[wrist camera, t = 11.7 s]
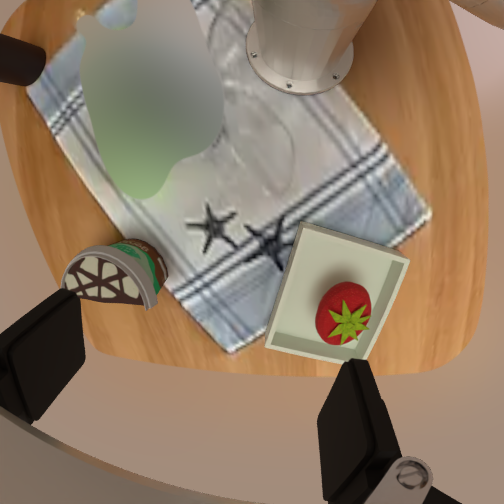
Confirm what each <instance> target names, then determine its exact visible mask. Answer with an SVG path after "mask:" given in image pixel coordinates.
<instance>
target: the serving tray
mask: <svg viewBox="0 0 504 504" xmlns="http://www.w3.org/2000/svg"><path fill="white" fill-rule="evenodd" d="M409 263H410V259H408V258H407V257H406V256H405V255H403V254H402V253H401V252H399V251H398V250H394V249H391V248H388V247H385V246H382V245H379V244H376V243H373V242H369V241H366V240H363V239H360V238H357V237H353V236H350V235H347V234H344V233H340V232H337V231H334V230H330V229H327V228H324V227H320V226H317V225H313V224H310V223H307V222H303V221H300V224H299V228H298V231H297V234H296V238H295V241H294V244H293V247H292V251H291V254H290V257H289V260H288V264H287V267H286V270H285V273H284V276H283V280H282V283H281V286H280V289H279V292H278V295H277V298H276V301H275V304H274V308H273V311H272V314H271V317H270V320H269V323H268V326H267V329H266V334H265V347H266V348H270V349H274V350H278V351H282V352H287V353H291V354H295V355H300V356H304V357H309V358H314V359H318V360H323V361H328V362H333V363H338V364H343V363H344V362H345V361H346V362H348V361H349V360H350V359H351V358H355V359H363V360H366V359H367V358H368V356H369V354H370V352H371V350H372V348H373V346H374V344H375V342H376V339H377V337H378V335H379V333H380V331H381V329H382V327H383V325H384V322H385V320H386V318H387V316H388V314H389V311H390V309H391V307H392V305H393V302H394V300H395V298H396V295H397V293H398V290H399V288H400V286H401V283H402V281H403V278H404V276H405V273H406V270H407V268H408V265H409ZM345 281H349V282H354V283H357V284H360V285H361V286H363V287H364V288H365V289H366V290H367V291H368V293H369V296H370V300H371V308H372V310H371V317H370V319H369V322H368V323H367V325H366V327H368V328H369V329H370V330H363V331H362V332H361V333H360V334H359V335H358V336H357V338H358V341H357V340H356V339H354V340H352V341H350V342H348V343H346V344H343V345H341V346H340V345H330V344H328V343H326V342H324V341H323V340H322V339H321V337H320V336H319V334H318V333H317V330H316V327H315V316H316V313H317V309H318V306H319V303H320V301H321V299H322V297H323V296H324V294H325V293H326V292H327V291H328V290H329V289H330V288H331V287H333V286H334V285H336V284H338V283H341V282H345Z"/></svg>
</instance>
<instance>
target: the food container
mask: <svg viewBox="0 0 504 504" xmlns="http://www.w3.org/2000/svg"><path fill="white" fill-rule="evenodd" d="M167 278H168V273H167V268H166V265H165V263H164V261H163V258H162V257H161V255H160V254H159V253H158V252H157V250H156V249H155V248H154V247H152V246H151V245H149V244H148V243H146V242H145V241H142V240H139V239H126V240H123V241H120V242H117V243H115V244H112V245H109V246H103V245H98V246H92V247H88V248H86V249H84V250H82V251H81V252H80V253H79V254H77V255H76V256H75V257H74V259H73V260H72V261H71V262H70V263H69V265H68V266H67V268H66V270H65V272H64V274H63V277H62V281H61V288H65V289H68V290H71V291H74V292H76V293H77V296H78V297H79V298H82V299H88V300H92V301H97V302H103V303H124V304H134V305H144V306H145V310H146V311H147V310H148V309H149V308H152V307H153V306H155V305H156V304H157V303H158V301H157V296H156V295H157V294H158V292H159V291H160V289H161V287H162V286H163V284H164V283H165V281H166V279H167Z"/></svg>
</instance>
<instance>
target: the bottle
mask: <svg viewBox="0 0 504 504" xmlns="http://www.w3.org/2000/svg"><path fill="white" fill-rule="evenodd" d="M44 64H45V52H44V50H43V49H42V48H40V47H38V46H35V45H33V44H30V43H27V42H24V41H21V40H18V39H15V38H12V37H9V36H6V35H3V34H0V82H4V83H9V84H15V85H20V86H27V85H30V84H31V83H33V82H34V81H35V80H36V79H37V78H38V76H39V75H40V73H41V71H42V70H43V67H44Z"/></svg>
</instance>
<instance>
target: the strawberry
mask: <svg viewBox="0 0 504 504" xmlns="http://www.w3.org/2000/svg"><path fill="white" fill-rule="evenodd" d="M371 310H372V308H371V300H370V296H369V293H368V291H367V290H366V289H365V288H364V287H363V286H361V285H360V284H357V283H354V282H349V281H345V282H341V283H338V284H336V285H334V286H333V287H331V288H330V289H329V290H328V291H327V292H326V293H325V294H324V296H323V297H322V299H321V301H320V303H319V306H318V309H317V313H316V316H315V327H316V330H317V333H318V334H319V336H320V337H321V339H322V340H323V341H324V342H326V343H328V344H330V345H340V346H341V345H343V344H346V343H348V342H350V341H352V340H354V339H356V340H357V341H358V338H357V336H358V335H359V334H360V333H361V332H362V331H363V330H370V329H369V328H368V327H366V325H367V323H368V322H369V319H370V317H371Z"/></svg>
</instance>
